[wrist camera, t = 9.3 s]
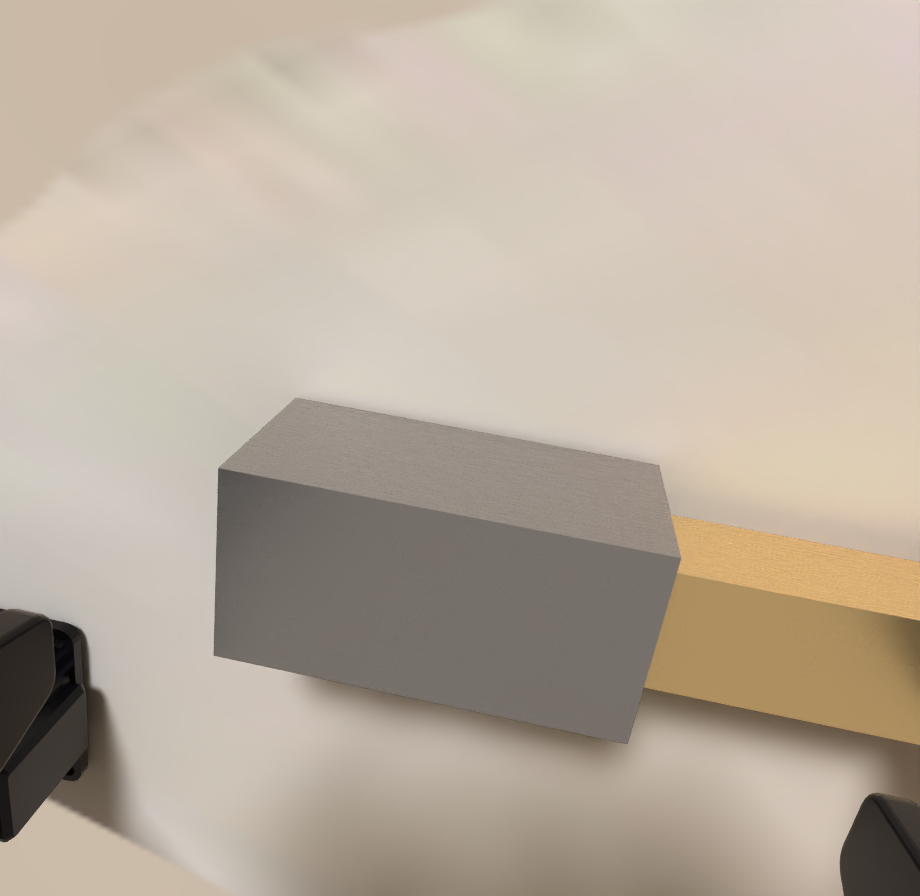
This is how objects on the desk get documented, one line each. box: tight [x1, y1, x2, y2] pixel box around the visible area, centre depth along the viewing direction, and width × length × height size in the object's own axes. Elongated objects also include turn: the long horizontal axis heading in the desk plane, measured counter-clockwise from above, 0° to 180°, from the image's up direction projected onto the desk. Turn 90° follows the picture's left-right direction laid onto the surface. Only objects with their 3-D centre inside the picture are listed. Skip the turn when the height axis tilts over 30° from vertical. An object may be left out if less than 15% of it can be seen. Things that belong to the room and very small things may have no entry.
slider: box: [644, 515, 920, 745], centre depth 16 cm, size 15×3×9 cm, turn 82°
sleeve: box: [214, 398, 681, 744], centre depth 20 cm, size 10×5×5 cm, turn 82°
